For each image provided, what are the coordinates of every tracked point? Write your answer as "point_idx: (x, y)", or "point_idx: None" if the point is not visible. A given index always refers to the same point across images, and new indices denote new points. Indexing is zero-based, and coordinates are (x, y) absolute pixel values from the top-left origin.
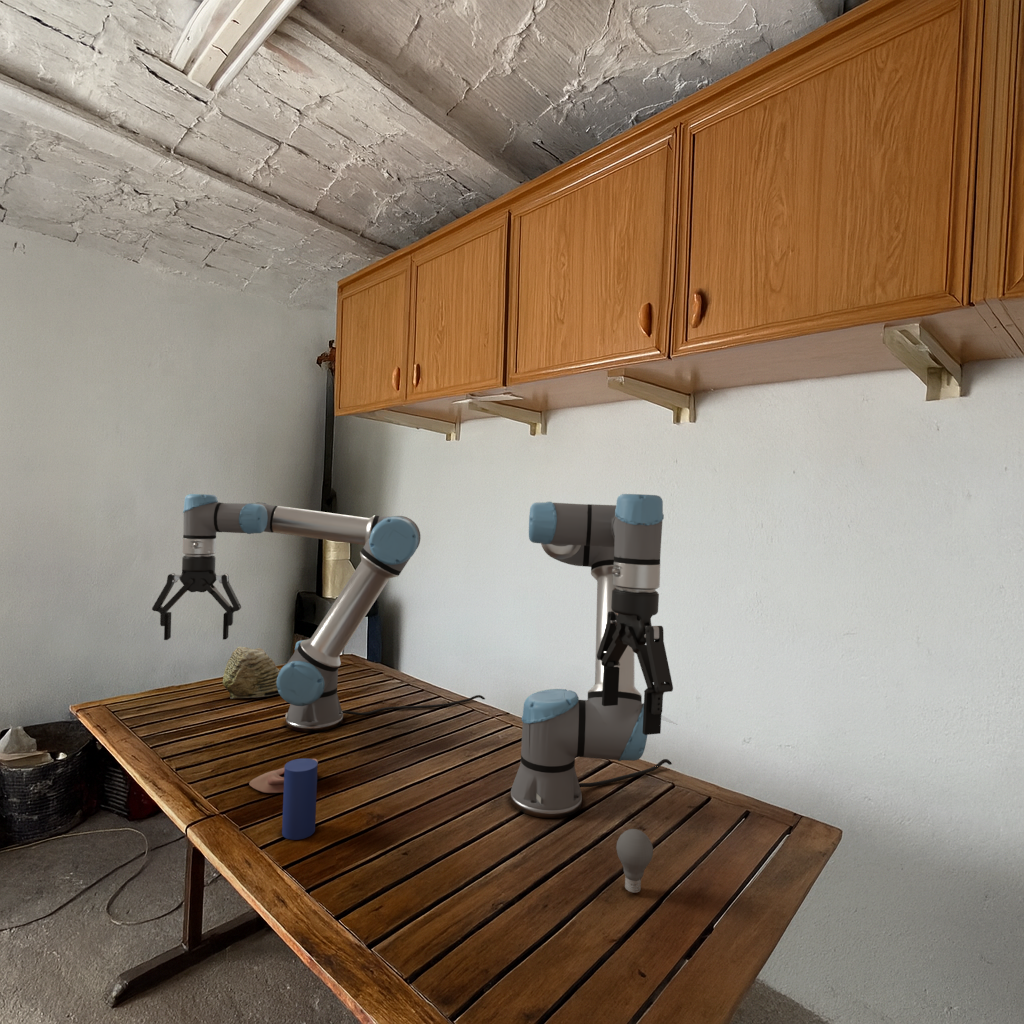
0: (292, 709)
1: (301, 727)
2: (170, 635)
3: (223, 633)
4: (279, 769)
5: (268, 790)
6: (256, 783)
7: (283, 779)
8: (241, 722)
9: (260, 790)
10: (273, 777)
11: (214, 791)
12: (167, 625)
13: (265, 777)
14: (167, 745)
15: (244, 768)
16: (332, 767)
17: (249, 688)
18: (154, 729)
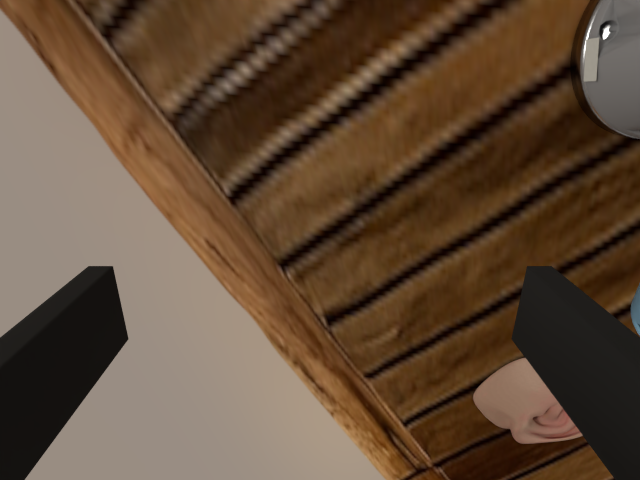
0: (626, 90)
1: (616, 132)
2: (104, 281)
3: (538, 370)
4: (536, 406)
5: (506, 428)
6: (488, 412)
7: (540, 441)
8: (432, 13)
9: (493, 422)
10: (523, 436)
11: (415, 407)
12: (61, 426)
13: (506, 415)
14: (264, 189)
15: (460, 330)
16: None
17: None
18: (181, 55)
